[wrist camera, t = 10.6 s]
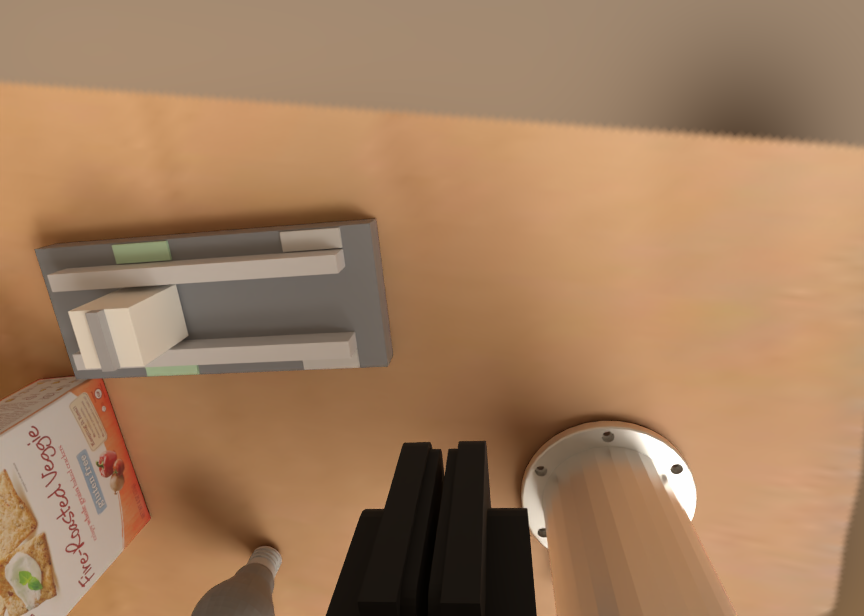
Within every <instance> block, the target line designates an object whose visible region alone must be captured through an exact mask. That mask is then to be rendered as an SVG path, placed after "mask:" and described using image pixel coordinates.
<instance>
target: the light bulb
mask: <svg viewBox="0 0 864 616" xmlns="http://www.w3.org/2000/svg"><path fill="white" fill-rule="evenodd" d="M281 563H282V558H281V555H280V553H279V552H278V551H277V550H276V549H274V548H272V547H269V546H261V547H258V548H256V549H255V550H254V552H253V554H252V555H251V557H250V559H249V561H248V563H247V564H246V565H245V566H243V567H242V568H241V569H239V570H238V572H237V573H236V574H235V575H234V576H233V577H232V578H230V579H228V580H225V581H223V582H222V583H220V584H218V585H216V586H214V587H213V588H211V589H210V590H209V591H208V592H207V593H206V594H205V595H204V596H203V597H202V598H201V599H200V601H199V602H198V603H197V605H196V607H195V608H194V610H193V612H192V615H191V616H275V614H274V607H273V602H272V592H273V589H274V578H275V575H276V573H277V571H278V569H279V567H280V565H281Z"/></svg>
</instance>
